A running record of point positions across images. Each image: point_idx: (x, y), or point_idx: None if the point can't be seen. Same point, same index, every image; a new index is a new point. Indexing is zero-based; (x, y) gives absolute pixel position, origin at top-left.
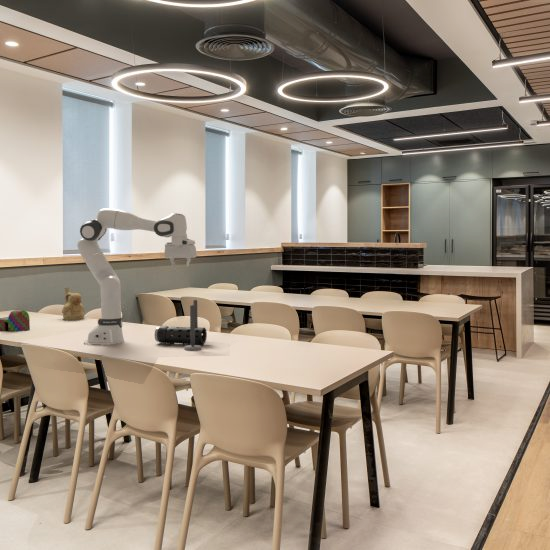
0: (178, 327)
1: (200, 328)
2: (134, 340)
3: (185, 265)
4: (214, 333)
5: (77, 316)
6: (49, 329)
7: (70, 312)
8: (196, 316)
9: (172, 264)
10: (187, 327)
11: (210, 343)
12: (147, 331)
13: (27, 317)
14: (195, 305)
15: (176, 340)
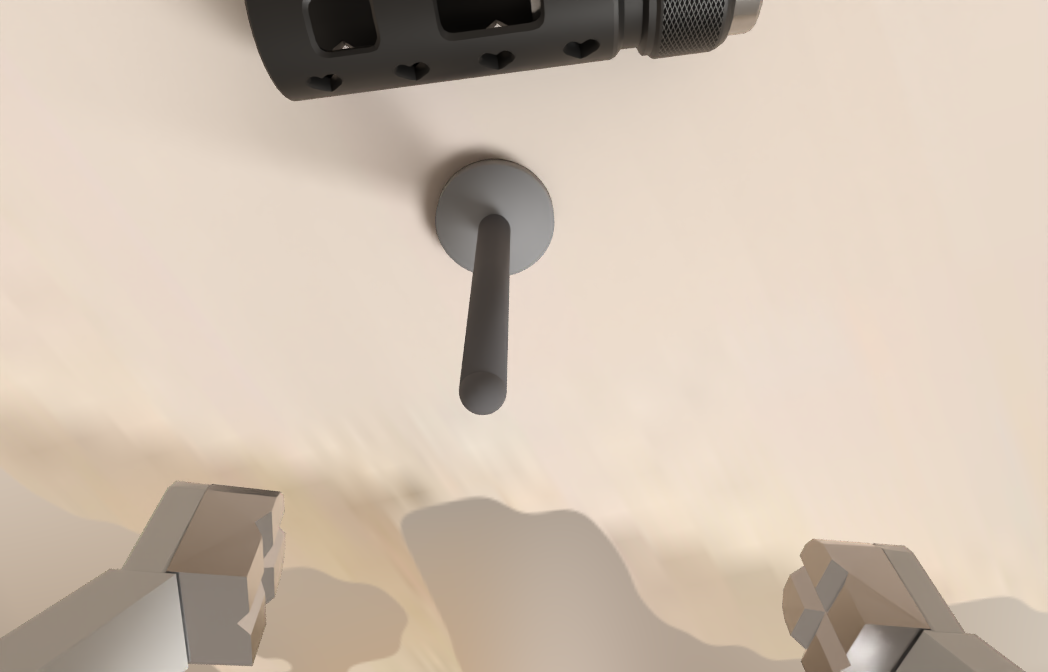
0: (538, 21)
1: (274, 2)
2: (986, 52)
3: (274, 502)
4: (501, 470)
5: None
6: None
7: None
8: (471, 297)
9: (916, 591)
10: (424, 3)
11: (304, 109)
12: (986, 428)
13: None
14: (471, 351)
15: None
